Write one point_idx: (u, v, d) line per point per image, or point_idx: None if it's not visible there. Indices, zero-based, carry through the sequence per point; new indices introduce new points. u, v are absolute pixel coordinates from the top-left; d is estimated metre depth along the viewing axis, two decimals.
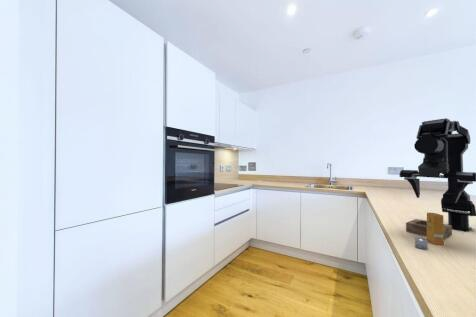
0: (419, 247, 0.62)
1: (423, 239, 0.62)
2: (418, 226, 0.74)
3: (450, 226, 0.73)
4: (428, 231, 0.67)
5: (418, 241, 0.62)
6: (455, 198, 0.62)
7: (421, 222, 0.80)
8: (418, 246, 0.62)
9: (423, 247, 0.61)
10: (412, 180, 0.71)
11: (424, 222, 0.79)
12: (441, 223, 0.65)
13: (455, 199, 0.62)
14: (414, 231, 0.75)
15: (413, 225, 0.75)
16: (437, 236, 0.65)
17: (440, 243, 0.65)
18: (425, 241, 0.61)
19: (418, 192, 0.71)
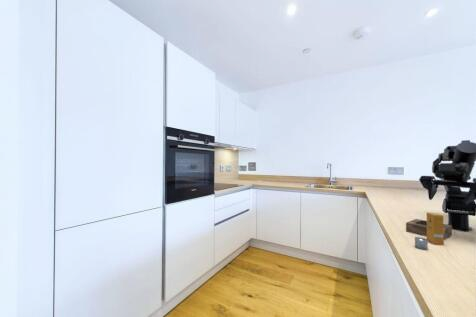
0: (419, 247, 0.62)
1: (423, 239, 0.62)
2: (418, 226, 0.74)
3: (450, 226, 0.73)
4: (428, 231, 0.67)
5: (418, 241, 0.62)
6: (466, 199, 0.66)
7: (421, 222, 0.80)
8: (418, 246, 0.62)
9: (423, 247, 0.61)
10: (430, 182, 0.76)
11: (424, 222, 0.79)
12: (441, 223, 0.65)
13: (466, 200, 0.66)
14: (414, 231, 0.75)
15: (413, 225, 0.75)
16: (437, 236, 0.65)
17: (440, 243, 0.65)
18: (425, 241, 0.61)
19: (431, 195, 0.75)
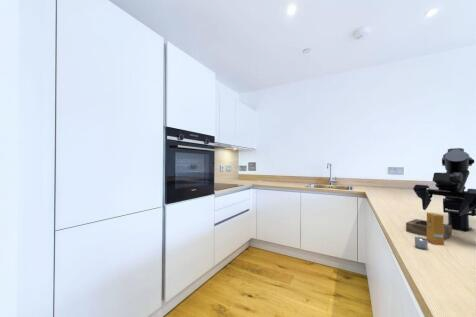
0: (419, 247, 0.62)
1: (423, 239, 0.62)
2: (418, 226, 0.74)
3: (450, 226, 0.73)
4: (428, 231, 0.67)
5: (418, 241, 0.62)
6: (460, 210, 0.64)
7: (421, 222, 0.80)
8: (418, 246, 0.62)
9: (423, 247, 0.61)
10: (424, 191, 0.74)
11: (424, 222, 0.79)
12: (441, 223, 0.65)
13: (460, 211, 0.64)
14: (414, 231, 0.75)
15: (413, 225, 0.75)
16: (437, 236, 0.65)
17: (440, 243, 0.65)
18: (425, 241, 0.61)
19: (425, 205, 0.73)
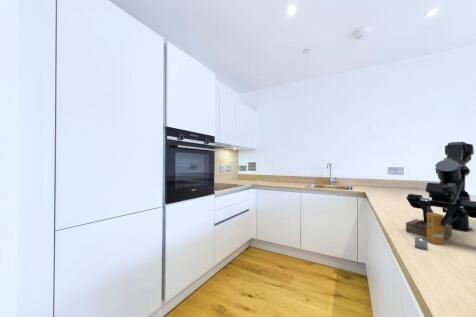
0: (419, 247, 0.62)
1: (423, 239, 0.62)
2: (418, 226, 0.74)
3: (450, 226, 0.73)
4: (428, 231, 0.67)
5: (418, 241, 0.62)
6: (443, 221, 0.64)
7: (421, 222, 0.80)
8: (418, 246, 0.62)
9: (423, 247, 0.61)
10: (425, 203, 0.70)
11: (424, 222, 0.79)
12: None
13: (443, 222, 0.64)
14: (414, 231, 0.75)
15: (413, 225, 0.75)
16: (437, 236, 0.65)
17: (440, 243, 0.65)
18: (425, 241, 0.61)
19: None
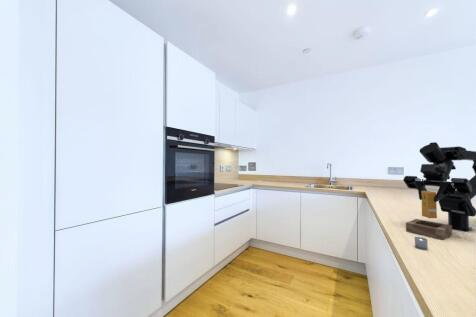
0: (419, 247, 0.62)
1: (423, 239, 0.62)
2: (418, 226, 0.74)
3: (450, 226, 0.73)
4: (423, 207, 0.75)
5: (418, 241, 0.62)
6: (436, 197, 0.72)
7: (421, 222, 0.80)
8: (418, 246, 0.62)
9: (423, 247, 0.61)
10: (420, 182, 0.78)
11: (424, 222, 0.79)
12: None
13: (436, 197, 0.72)
14: (414, 231, 0.75)
15: (413, 225, 0.75)
16: (431, 210, 0.73)
17: (434, 217, 0.73)
18: (425, 241, 0.61)
19: None
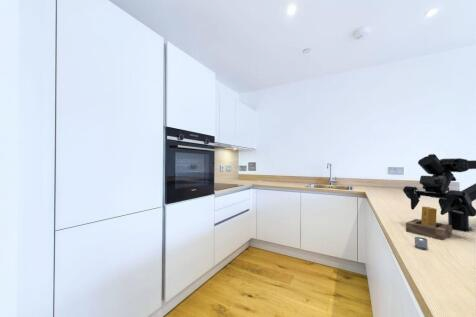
0: (418, 246, 0.62)
1: (423, 239, 0.62)
2: (418, 226, 0.74)
3: (450, 226, 0.73)
4: (422, 223, 0.76)
5: (417, 240, 0.62)
6: (442, 210, 0.71)
7: None
8: (417, 245, 0.62)
9: (422, 247, 0.61)
10: (412, 193, 0.81)
11: None
12: (434, 216, 0.74)
13: (442, 210, 0.71)
14: (414, 231, 0.75)
15: (413, 225, 0.75)
16: None
17: None
18: (424, 241, 0.61)
19: (414, 205, 0.80)
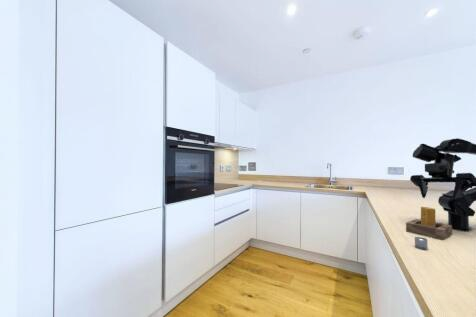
0: (417, 246, 0.62)
1: (422, 239, 0.62)
2: (418, 226, 0.74)
3: (450, 226, 0.73)
4: (422, 223, 0.76)
5: (416, 240, 0.62)
6: (454, 194, 0.73)
7: None
8: (416, 245, 0.62)
9: (421, 247, 0.61)
10: (420, 181, 0.83)
11: None
12: (433, 216, 0.74)
13: (454, 195, 0.73)
14: (414, 231, 0.75)
15: (413, 225, 0.75)
16: None
17: None
18: (423, 240, 0.61)
19: (424, 193, 0.81)
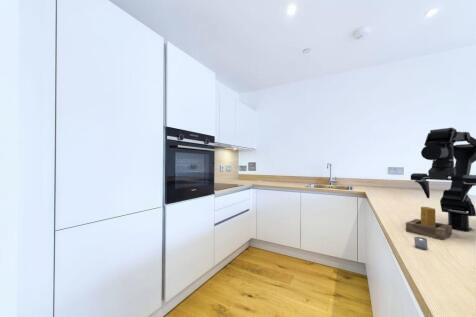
0: (416, 246, 0.62)
1: (422, 239, 0.62)
2: (418, 226, 0.74)
3: (450, 226, 0.73)
4: (422, 223, 0.76)
5: (415, 239, 0.63)
6: (462, 198, 0.71)
7: None
8: (416, 245, 0.63)
9: (420, 246, 0.61)
10: (422, 183, 0.79)
11: None
12: (433, 216, 0.74)
13: (462, 199, 0.71)
14: (414, 231, 0.75)
15: (413, 225, 0.75)
16: None
17: None
18: (422, 240, 0.61)
19: (428, 193, 0.79)
